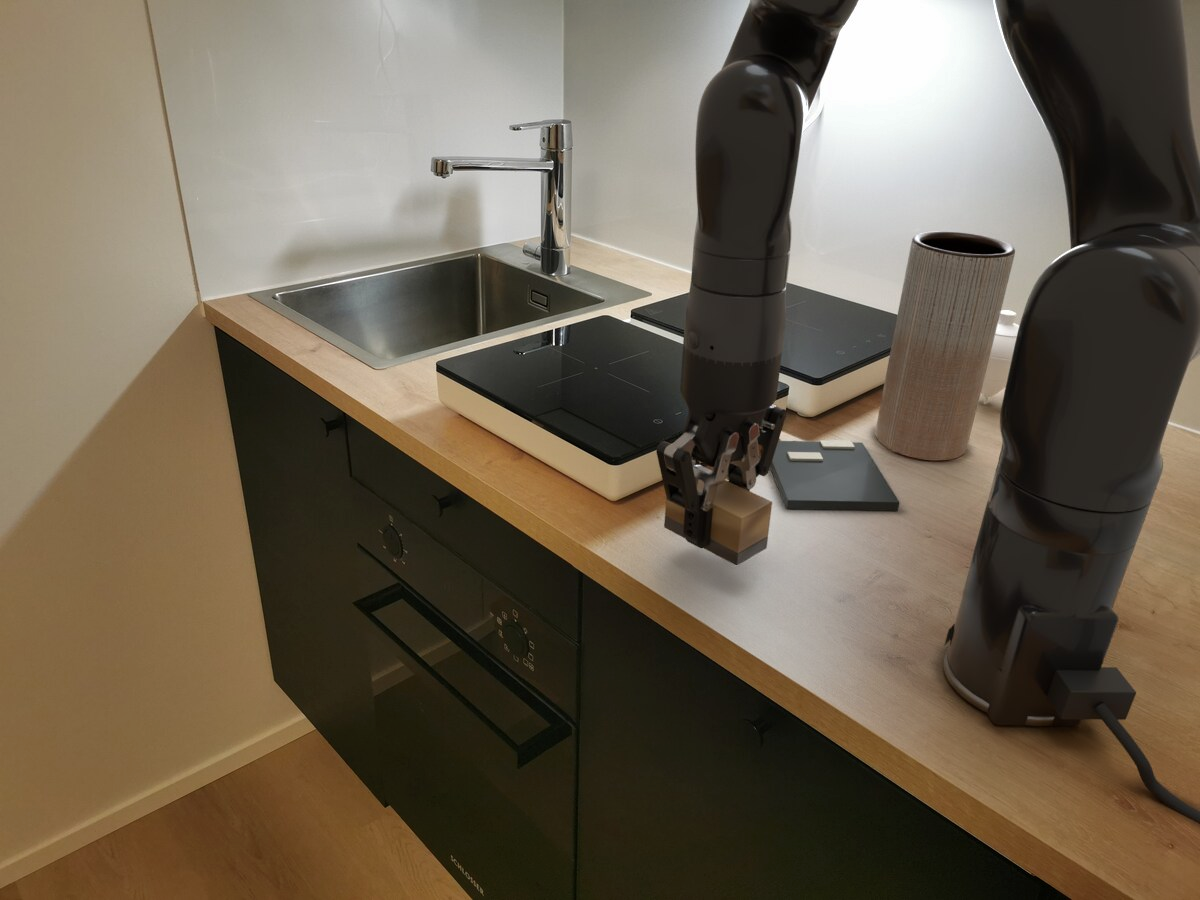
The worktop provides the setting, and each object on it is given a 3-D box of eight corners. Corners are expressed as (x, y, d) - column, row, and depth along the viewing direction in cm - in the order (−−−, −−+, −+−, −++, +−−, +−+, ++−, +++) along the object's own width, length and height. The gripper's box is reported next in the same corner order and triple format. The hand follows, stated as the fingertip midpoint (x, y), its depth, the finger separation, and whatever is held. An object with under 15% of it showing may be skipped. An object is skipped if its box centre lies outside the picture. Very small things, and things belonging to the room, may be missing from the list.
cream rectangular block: (822, 461, 96) (823, 458, 95) (790, 460, 95) (790, 458, 95) (819, 454, 97) (819, 452, 97) (787, 454, 97) (787, 451, 97)
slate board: (897, 511, 89) (899, 502, 88) (786, 508, 88) (788, 500, 88) (860, 450, 100) (862, 442, 100) (762, 448, 100) (763, 440, 100)
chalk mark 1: (854, 449, 98) (855, 446, 98) (822, 448, 98) (823, 446, 98) (850, 443, 100) (851, 440, 100) (819, 442, 100) (819, 439, 99)
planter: (970, 468, 97) (1022, 259, 87) (874, 454, 100) (914, 249, 89) (962, 429, 106) (1009, 236, 96) (874, 417, 108) (910, 227, 98)
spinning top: (941, 393, 116) (961, 302, 110) (995, 390, 117) (1018, 301, 112) (973, 418, 109) (997, 323, 104) (1030, 415, 110) (1057, 321, 105)
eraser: (736, 566, 73) (741, 518, 71) (663, 527, 78) (666, 481, 76) (766, 548, 76) (772, 501, 74) (694, 512, 81) (697, 467, 79)
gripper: (710, 377, 62) (693, 585, 70) (827, 334, 71) (801, 522, 79) (632, 348, 67) (624, 546, 75) (751, 311, 76) (733, 491, 84)
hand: (715, 532), depth 77 cm, fingers closed on eraser, 4 cm apart
